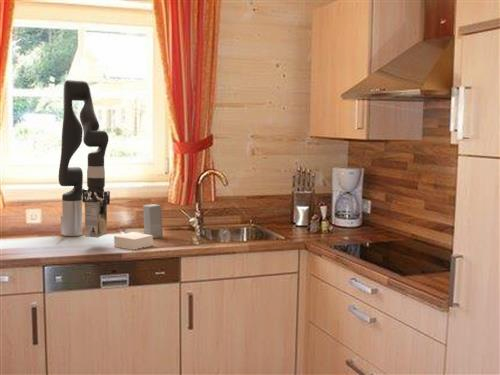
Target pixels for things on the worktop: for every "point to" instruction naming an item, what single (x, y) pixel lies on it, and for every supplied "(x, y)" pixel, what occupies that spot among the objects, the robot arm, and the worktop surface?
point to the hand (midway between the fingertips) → (95, 213)
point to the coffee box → (94, 219)
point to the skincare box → (153, 220)
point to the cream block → (133, 240)
